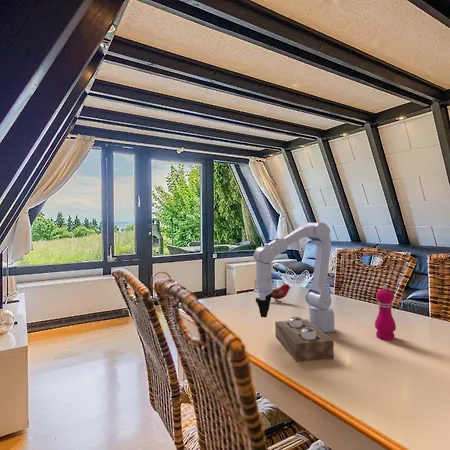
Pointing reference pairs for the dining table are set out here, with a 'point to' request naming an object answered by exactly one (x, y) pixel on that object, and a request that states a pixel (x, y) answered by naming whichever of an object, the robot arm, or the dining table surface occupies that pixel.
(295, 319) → the knob
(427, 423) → the dining table surface
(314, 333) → the knob
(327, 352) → the housing
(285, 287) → the decorative bird figurine
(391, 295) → the pepper mill
